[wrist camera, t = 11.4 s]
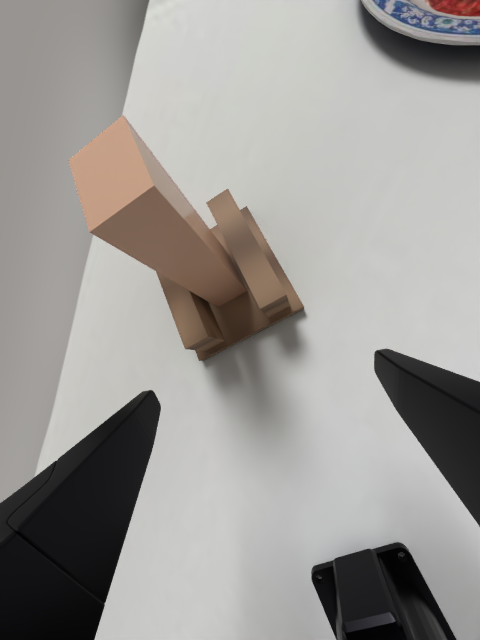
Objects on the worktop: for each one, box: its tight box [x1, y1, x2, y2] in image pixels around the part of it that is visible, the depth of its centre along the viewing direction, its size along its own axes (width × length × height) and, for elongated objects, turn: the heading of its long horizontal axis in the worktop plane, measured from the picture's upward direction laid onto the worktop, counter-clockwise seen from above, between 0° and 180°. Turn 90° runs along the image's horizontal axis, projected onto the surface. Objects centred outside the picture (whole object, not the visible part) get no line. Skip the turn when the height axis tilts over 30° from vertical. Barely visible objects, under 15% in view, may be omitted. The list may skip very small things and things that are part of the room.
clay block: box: [69, 115, 247, 307], centre depth 14 cm, size 4×3×12 cm
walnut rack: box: [156, 189, 304, 361], centre depth 19 cm, size 11×10×4 cm
